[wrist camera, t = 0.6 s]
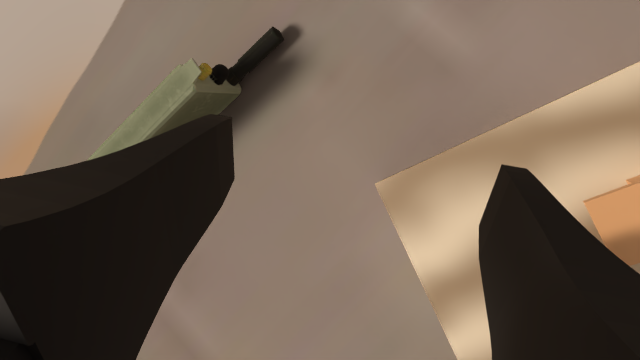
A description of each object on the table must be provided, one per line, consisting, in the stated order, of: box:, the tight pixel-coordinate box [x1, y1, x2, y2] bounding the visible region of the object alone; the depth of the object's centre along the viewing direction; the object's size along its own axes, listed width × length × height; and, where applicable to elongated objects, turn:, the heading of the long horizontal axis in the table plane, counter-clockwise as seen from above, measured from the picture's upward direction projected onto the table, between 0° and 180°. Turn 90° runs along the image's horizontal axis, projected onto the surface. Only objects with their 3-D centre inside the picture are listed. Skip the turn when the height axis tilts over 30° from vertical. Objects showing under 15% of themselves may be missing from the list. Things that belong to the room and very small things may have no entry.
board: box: [375, 62, 640, 360], centre depth 27 cm, size 18×17×4 cm
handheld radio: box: [87, 27, 284, 161], centre depth 37 cm, size 7×3×25 cm
